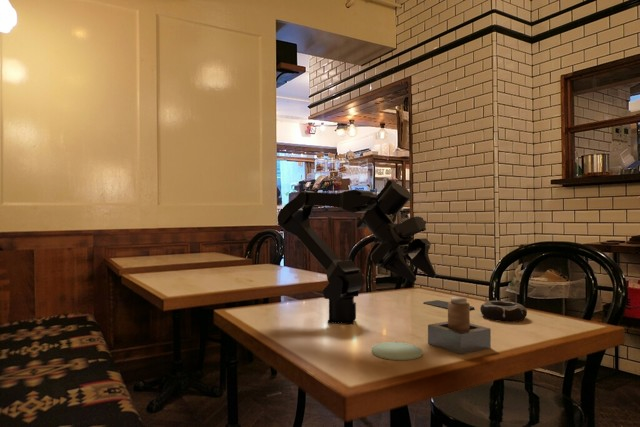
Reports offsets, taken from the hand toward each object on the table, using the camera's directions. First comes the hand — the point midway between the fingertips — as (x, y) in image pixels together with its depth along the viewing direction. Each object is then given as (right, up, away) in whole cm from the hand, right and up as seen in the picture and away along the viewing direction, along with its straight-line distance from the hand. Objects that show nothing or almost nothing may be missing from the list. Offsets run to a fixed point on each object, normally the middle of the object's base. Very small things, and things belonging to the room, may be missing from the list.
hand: (425, 278), depth 98 cm
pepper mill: (+6, -13, -5) cm, 16 cm away
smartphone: (+16, -14, +36) cm, 41 cm away
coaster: (-8, -13, -10) cm, 19 cm away
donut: (+26, -14, +21) cm, 36 cm away
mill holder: (+6, -13, -5) cm, 16 cm away
